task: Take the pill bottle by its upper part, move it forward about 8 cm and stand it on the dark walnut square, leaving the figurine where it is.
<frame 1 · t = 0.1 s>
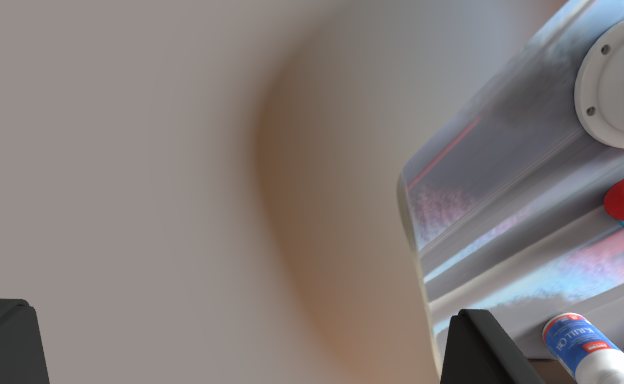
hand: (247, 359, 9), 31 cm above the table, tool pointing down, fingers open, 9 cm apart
pill bottle: (562, 330, 46), on the table
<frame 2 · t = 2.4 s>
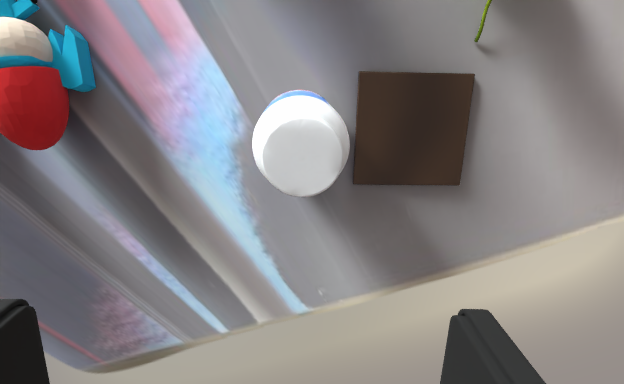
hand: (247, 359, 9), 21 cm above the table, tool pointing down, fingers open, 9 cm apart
toy figure: (28, 32, 26), on the table
pill bottle: (300, 128, 28), on the table
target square: (410, 130, 28), on the table
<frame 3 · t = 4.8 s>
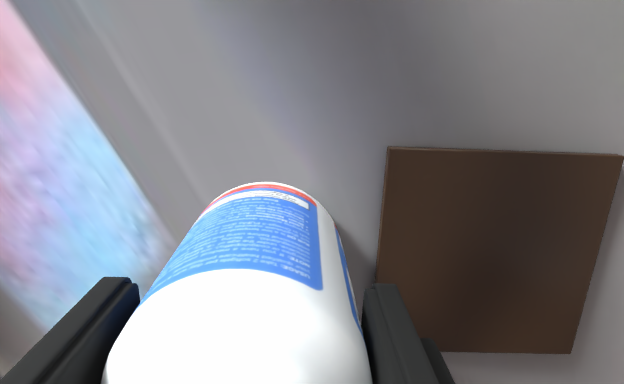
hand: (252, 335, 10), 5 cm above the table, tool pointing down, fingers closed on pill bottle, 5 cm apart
pill bottle: (269, 247, 15), on the table, touching gripper
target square: (483, 255, 15), on the table
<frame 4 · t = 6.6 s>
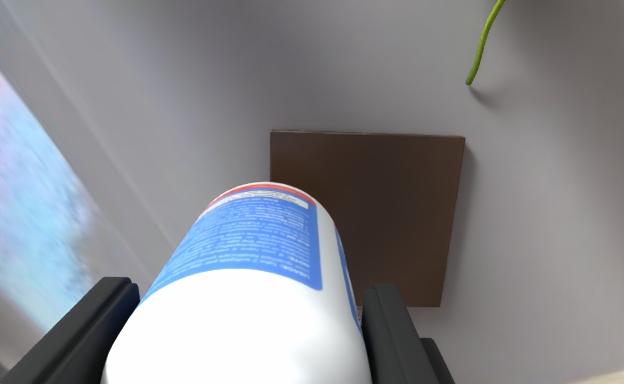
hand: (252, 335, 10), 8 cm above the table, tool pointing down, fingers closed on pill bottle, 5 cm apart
pill bottle: (268, 247, 15), point 3 cm above the table, touching gripper
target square: (360, 222, 17), on the table
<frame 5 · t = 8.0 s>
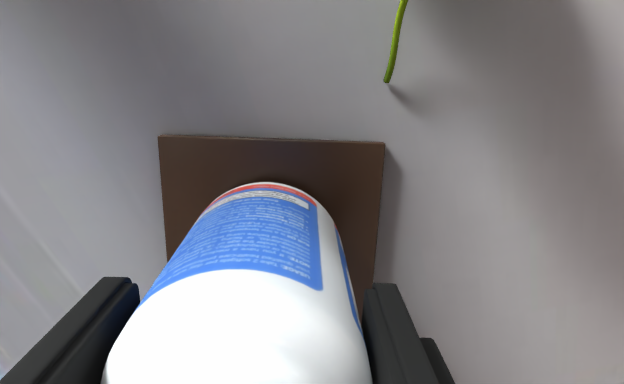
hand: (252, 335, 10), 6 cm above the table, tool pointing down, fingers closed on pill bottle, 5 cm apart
pill bottle: (269, 248, 15), point 1 cm above the table, touching gripper
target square: (272, 240, 15), on the table
when the fingers open (5 cm above the table, at t = 8.6 s): pill bottle stays where it is, resting on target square.
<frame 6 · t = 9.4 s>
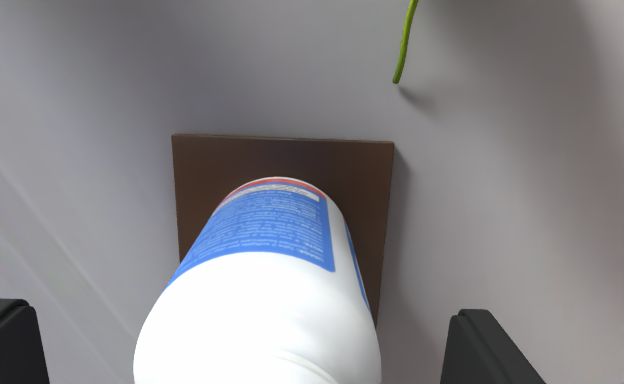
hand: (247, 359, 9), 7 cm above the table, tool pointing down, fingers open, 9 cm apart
pill bottle: (280, 240, 15), resting on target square
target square: (282, 237, 15), on the table
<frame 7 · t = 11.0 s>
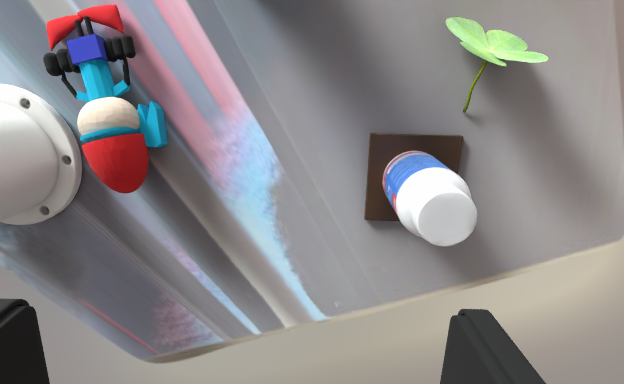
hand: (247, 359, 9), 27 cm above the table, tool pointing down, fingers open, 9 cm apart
toy figure: (119, 102, 34), on the table
green leafy piece: (465, 58, 33), on the table
pill bottle: (411, 179, 35), resting on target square
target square: (411, 178, 35), on the table
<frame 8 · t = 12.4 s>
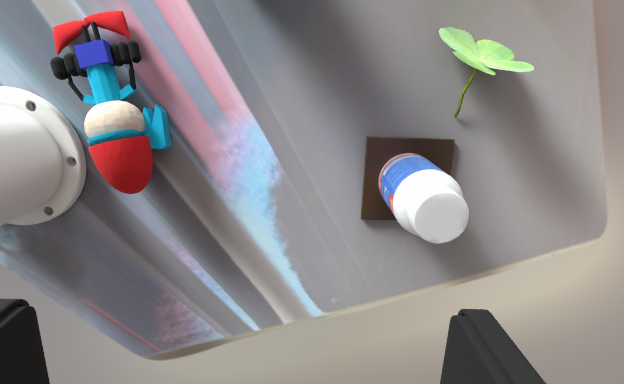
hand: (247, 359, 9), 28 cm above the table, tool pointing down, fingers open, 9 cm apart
toy figure: (123, 105, 35), on the table
green leafy piece: (456, 66, 34), on the table
pill bottle: (405, 180, 37), resting on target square
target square: (405, 179, 37), on the table
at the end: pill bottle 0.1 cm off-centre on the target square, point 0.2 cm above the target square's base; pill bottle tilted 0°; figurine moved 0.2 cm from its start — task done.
